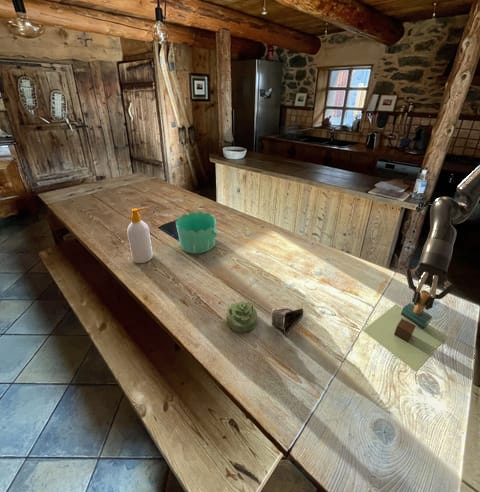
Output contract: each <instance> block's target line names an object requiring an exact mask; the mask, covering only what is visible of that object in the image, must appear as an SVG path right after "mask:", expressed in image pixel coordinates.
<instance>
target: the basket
mask: <svg viewBox="0 0 480 492" xmlns="http://www.w3.org/2000/svg"><path fill="white" fill-rule="evenodd" d="M175 226H176V231H177V236H178V240H179V241H178V242H179V246H180V249H181V250H182V251H184V252H186V253H188V254H202V253H203V254H204V253H206V252H208V251H210V250H212V249H214V247H215V245H216V237H218V236H219V235H218V233H217V218H215V215H214V214H213V215H211V214H210V213H209V212H205V213H204V212H203V211H197V212H194V211H191V212H189V213H188V214H187V213H184V214H181V217H180V216H177V218H176V220H175Z"/></svg>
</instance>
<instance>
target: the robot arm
mask: <svg viewBox="0 0 480 492" xmlns="http://www.w3.org/2000/svg"><path fill="white" fill-rule="evenodd" d="M456 192H457V193H458V195H459V198H458V200H455V199H454V198H452V197H449V196H440V197H438V198H436V199H435V200H434V201H433V202H432V204H431V206H430V210H429V225H430V226H429V227H430V229H429V232H428V235H427V238H426V241H425V243H424V245H423V248H422V250H421V251H422V252H421V255H420V258H419V261H418V264H417V266H416V267H415V268H414V269H413V268H412V269H409V268H407V269H405V272H404V273H405V277H406V281H407V285H408V288H409V289H411V290H412V291H413V295H412V299H411V302H412V303H413V305H414V306H415V305H417V303H418V300H419V297H420V293H421V291H422V290H423V289H422V288H423V287H424V286H427V287H429V293H430V297H429V299H428V301H427V303H426V306H425V308H424V310H427V311H429V310H431V309H432V308H433V306H434V302H435V300H442V299H444V298H445V297H446V296H447V295H449V293H451V292H452V291H453V290H454V289H455V288H456V285H455V284H454V283H451V282H450V281H449V280H448V277H447V274H448V270H449V267H450V263H451V260H452V258H453V251H454V245H455V241H456V238H457V229H456V228H455V227H454V225H458V224H461V223H464V222H465V221H466V220H468V218H469V217H470V216H471V215H472V213H473V212H474V210H475V209H476V207H477V205H478V203H479V201H480V164H479V165H478V166H477V167H476V168H475V169H474V170H472V171H471V173H470V174H468V175H467V176H466V177H465V178H464V179H462V181H461V182H460V183H459V184H458V185H457V186H456ZM414 276H416V278H417V280H418V283H417V285H415V284H414V278H413V277H414ZM443 284H444V286H443V288H444V289H443V290H442V291H441V292H440V293H437V291H438V287H439V286H440V285H443Z"/></svg>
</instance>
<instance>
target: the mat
mask: <svg viewBox="0 0 480 492" xmlns="http://www.w3.org/2000/svg"><path fill="white" fill-rule="evenodd" d="M402 310H403V307H401V305H398V304H397V303H395V304H394V305H392V306H391V307H390V308H389V309H387V310H386V311H385V312H384V313H382V314H381V315H380V316H379V317H377V318H376V319H374V320H373V321H371V323H370V324H369V325H367V326H366V327H365V328H363V329H362V331H363V332H364V334H367V335H368V336H369V337H370V338H372V339H373V341H376V342H377V343H378V344H379V345H381V346H382V347H383V348H384V349H386V350H387V351H388V352H390V353H391V354H392V355H393V356H394V357H396V358H397V359H398V360H400V361H401V362H402V363H404V365H406V366H408V367H409V368H410V369H411V370H413V371H414V372H415V373H416V372H417V371H418V370H419V369H420V368H421V367H422V365H424V364H425V362H426V361H427V360H428V359H429V358H430V357H431V356H432V355H433V353H435V351H436V350H437V349H438V348H439V347H440V346H441V344H443V342H445V340H446V339H447V338H448V336H447V335H446V334H445V333H443V332H441V331H439V330H438V329H436V328H435V327H434V326H432V325H430V324H428V325H427V326H426V327H425V328H424V329H422V328H420V327H419V326H417V325H416V324H414V323H413V322H411V321H410V320H408V319H407V318H405V317H404V316H402V315H401V312H402ZM401 318H402V319H404V320H406V321H408V322H410V323H411V324H413V325H415V326H416V327H415V329H414V332H413V334H412V336H411V338H410V340H409V342H406V341H404V340H402V339H401V338H399V337H397V336H396V335H394V333H395V330H396V327H397V325H398V323H399V322H400V320H401Z"/></svg>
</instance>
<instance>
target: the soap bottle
mask: <svg viewBox="0 0 480 492" xmlns="http://www.w3.org/2000/svg"><path fill="white" fill-rule="evenodd" d="M148 209H149V208H148V207H139V208H137V207H135V208H133V207H132V208H131V209H130V210H131V216H130V219H131V222H130V223H129V225H128V226H127V229H126V234H127V239H128V244H129V249H130V250H129V251H130V254H131V259H132V261H133V262H134V263H135V264H145V263H147V262H149V261H151V259H152V258H153V256H154V254H153V253H154V252H153V246H152V240H151V234H150V228H149V225H148V224H147V223H146V222H145V221H144V220H142V218H141V214H139V212H140V211H143V210H148Z"/></svg>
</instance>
